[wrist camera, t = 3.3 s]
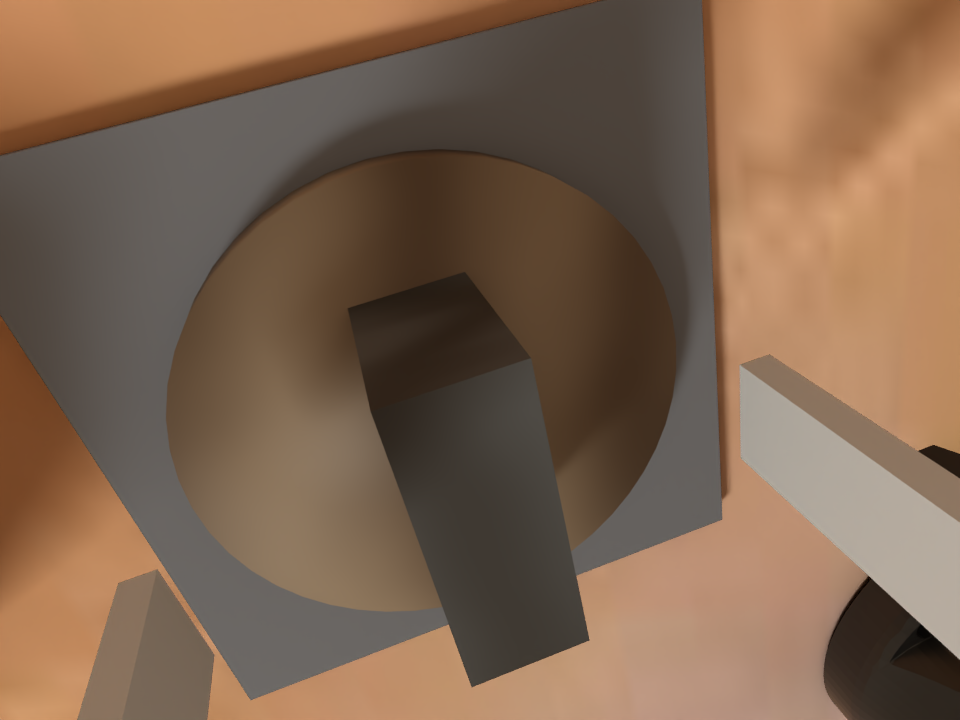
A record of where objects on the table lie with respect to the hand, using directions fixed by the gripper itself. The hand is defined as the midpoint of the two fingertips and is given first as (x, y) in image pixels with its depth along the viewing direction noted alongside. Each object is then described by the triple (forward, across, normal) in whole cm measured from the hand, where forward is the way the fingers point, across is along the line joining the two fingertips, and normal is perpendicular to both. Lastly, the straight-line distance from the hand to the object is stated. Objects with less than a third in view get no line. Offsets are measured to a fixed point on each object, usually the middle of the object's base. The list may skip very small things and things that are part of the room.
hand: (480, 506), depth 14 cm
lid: (+5, 0, 0) cm, 5 cm away
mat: (+6, 0, 0) cm, 6 cm away
